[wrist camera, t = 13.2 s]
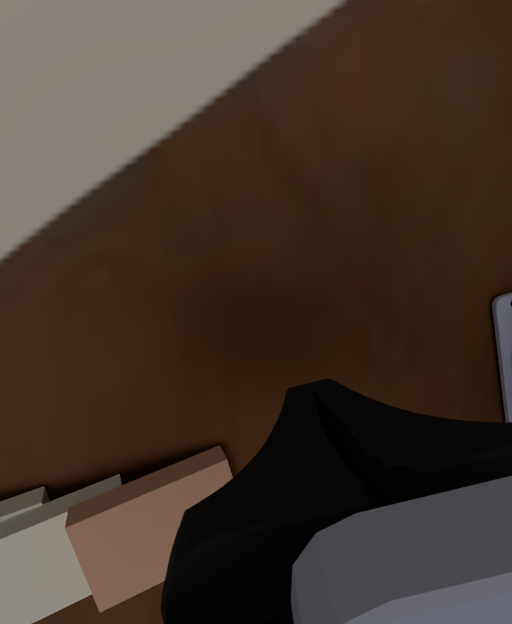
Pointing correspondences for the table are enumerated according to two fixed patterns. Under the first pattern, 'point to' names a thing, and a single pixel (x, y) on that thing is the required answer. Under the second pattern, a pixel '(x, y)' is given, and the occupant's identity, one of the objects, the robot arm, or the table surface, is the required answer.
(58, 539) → the ivory domino
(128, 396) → the table surface
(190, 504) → the terracotta domino
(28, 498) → the ivory domino
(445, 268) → the table surface
